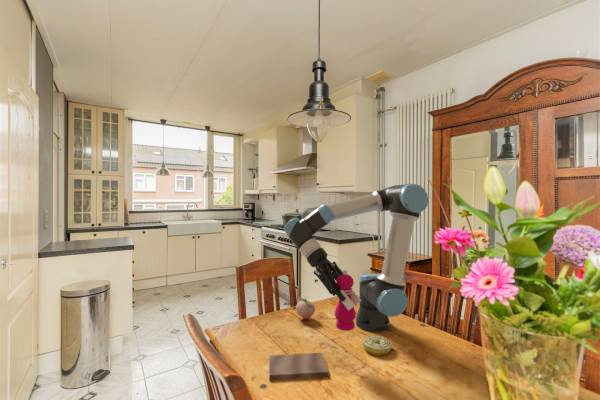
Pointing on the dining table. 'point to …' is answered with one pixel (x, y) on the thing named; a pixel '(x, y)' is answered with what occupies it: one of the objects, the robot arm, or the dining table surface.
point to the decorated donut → (377, 345)
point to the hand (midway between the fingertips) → (355, 305)
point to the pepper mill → (341, 312)
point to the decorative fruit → (305, 308)
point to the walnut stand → (297, 366)
